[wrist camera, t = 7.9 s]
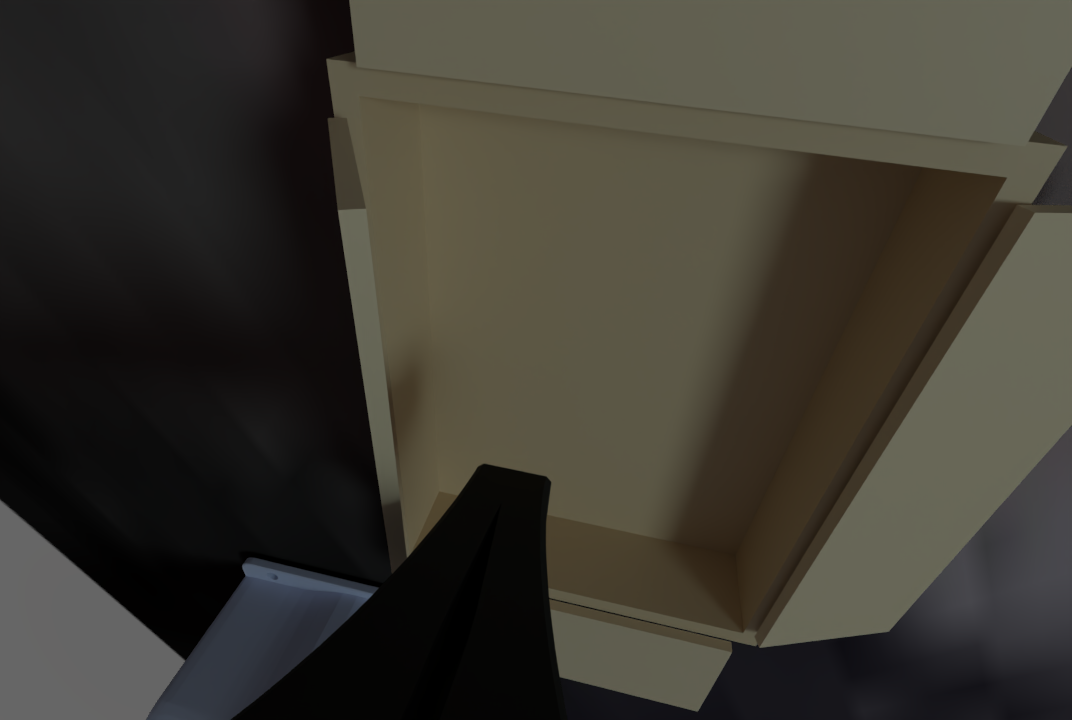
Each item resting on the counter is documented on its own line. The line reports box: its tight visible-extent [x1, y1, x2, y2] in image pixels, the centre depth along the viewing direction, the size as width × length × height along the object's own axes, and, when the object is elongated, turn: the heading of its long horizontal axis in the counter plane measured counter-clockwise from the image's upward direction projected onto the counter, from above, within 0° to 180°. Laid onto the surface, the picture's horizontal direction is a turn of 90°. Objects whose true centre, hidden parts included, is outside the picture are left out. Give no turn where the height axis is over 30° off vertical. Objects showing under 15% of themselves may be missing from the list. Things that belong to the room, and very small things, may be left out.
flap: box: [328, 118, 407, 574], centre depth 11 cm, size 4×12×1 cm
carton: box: [326, 0, 1072, 711], centre depth 13 cm, size 11×22×3 cm, turn 176°
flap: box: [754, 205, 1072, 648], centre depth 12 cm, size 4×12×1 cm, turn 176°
